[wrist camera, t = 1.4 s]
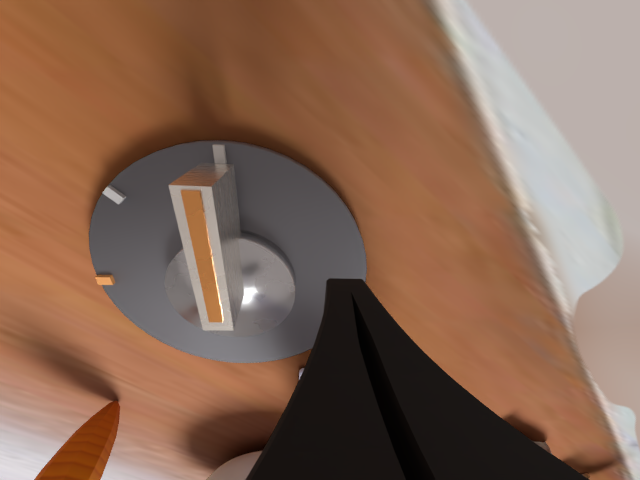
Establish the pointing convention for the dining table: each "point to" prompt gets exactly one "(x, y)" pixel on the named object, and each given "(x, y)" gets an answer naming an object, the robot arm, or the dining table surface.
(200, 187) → the grey bar on dome
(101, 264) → the dial plate
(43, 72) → the dining table surface
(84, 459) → the carrot
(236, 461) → the serving bowl
